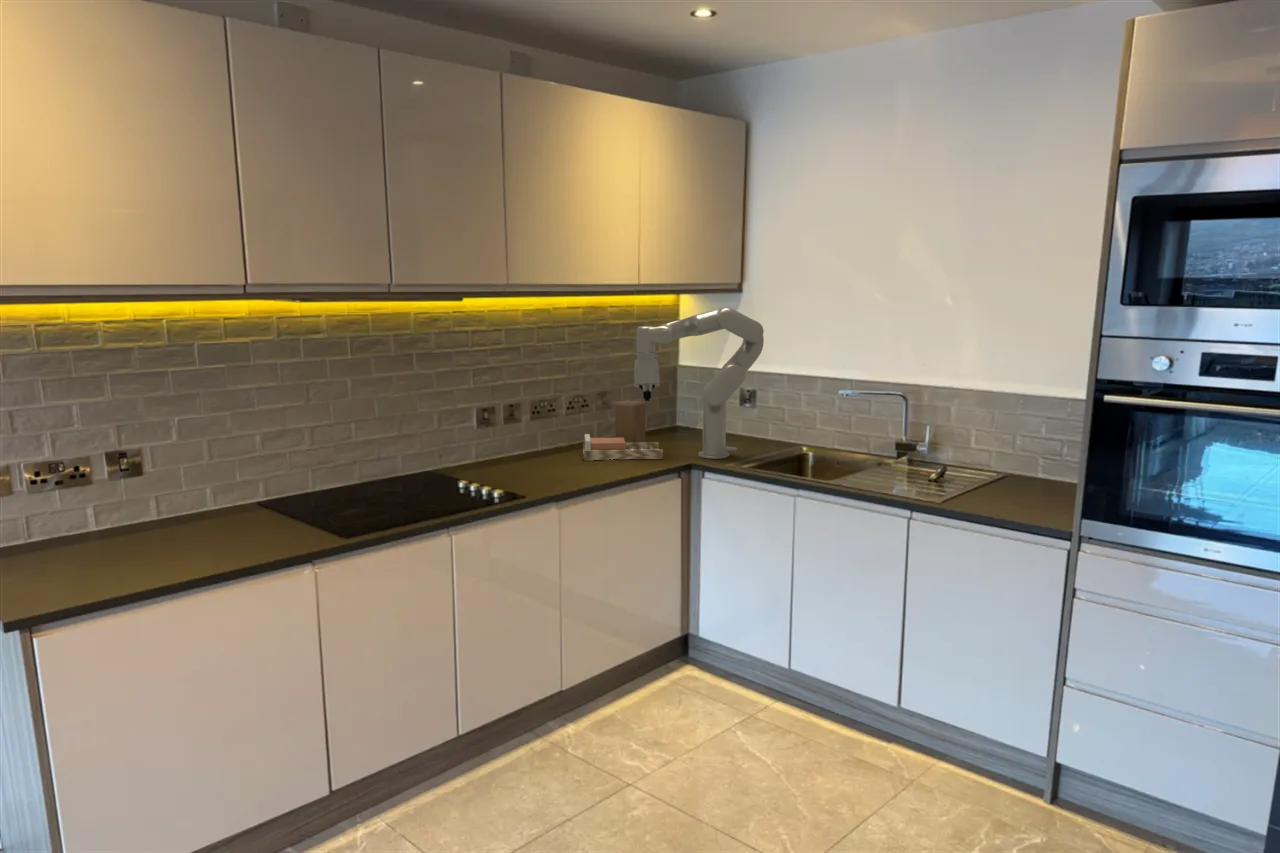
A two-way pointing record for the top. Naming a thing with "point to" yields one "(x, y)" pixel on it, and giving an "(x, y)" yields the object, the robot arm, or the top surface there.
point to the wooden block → (630, 421)
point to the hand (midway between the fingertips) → (647, 400)
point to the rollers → (640, 447)
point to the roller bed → (625, 453)
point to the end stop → (587, 443)
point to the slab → (608, 444)
